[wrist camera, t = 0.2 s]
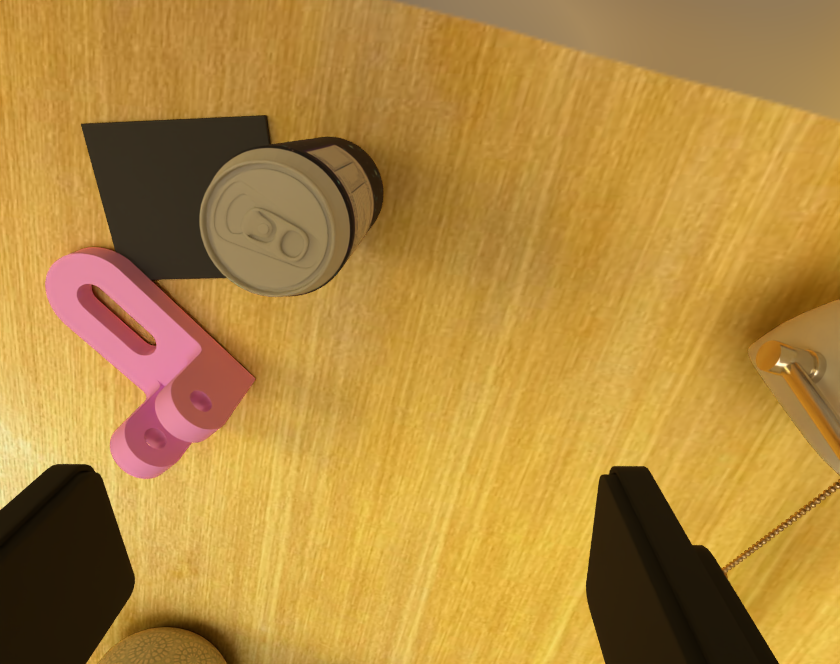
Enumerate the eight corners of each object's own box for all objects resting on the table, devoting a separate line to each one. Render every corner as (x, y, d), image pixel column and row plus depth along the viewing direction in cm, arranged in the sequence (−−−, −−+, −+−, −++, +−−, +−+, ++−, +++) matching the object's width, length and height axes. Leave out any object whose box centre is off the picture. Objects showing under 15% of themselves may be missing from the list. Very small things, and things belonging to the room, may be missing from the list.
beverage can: (311, 116, 28) (220, 113, 17) (403, 169, 29) (374, 201, 18) (271, 208, 30) (166, 261, 19) (357, 256, 31) (307, 333, 20)
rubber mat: (84, 123, 29) (80, 123, 28) (266, 115, 28) (264, 115, 28) (126, 279, 32) (123, 280, 32) (289, 275, 31) (288, 276, 31)
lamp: (743, 642, 52) (1219, 356, 28) (873, 1003, 34) (2492, 1063, 10) (497, 574, 51) (782, 206, 26) (496, 918, 32) (1397, 746, 8)
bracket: (255, 378, 34) (212, 442, 28) (202, 421, 36) (149, 490, 29) (95, 228, 30) (3, 261, 24) (43, 284, 32) (-56, 329, 26)
